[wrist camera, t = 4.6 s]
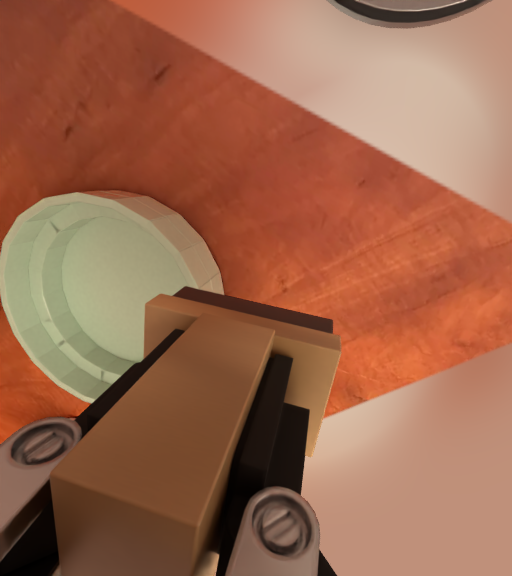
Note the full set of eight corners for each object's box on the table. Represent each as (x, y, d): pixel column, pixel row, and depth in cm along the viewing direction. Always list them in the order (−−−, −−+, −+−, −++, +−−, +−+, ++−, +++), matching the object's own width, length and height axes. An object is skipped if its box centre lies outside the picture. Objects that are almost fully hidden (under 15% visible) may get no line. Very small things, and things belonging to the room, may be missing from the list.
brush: (174, 371, 14) (-18, 606, 6) (180, 274, 12) (-67, 433, 5) (315, 410, 13) (285, 742, 5) (342, 310, 11) (353, 583, 4)
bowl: (44, 173, 27) (-16, 173, 23) (241, 213, 24) (219, 221, 20) (55, 350, 33) (10, 378, 29) (214, 397, 31) (193, 436, 26)
